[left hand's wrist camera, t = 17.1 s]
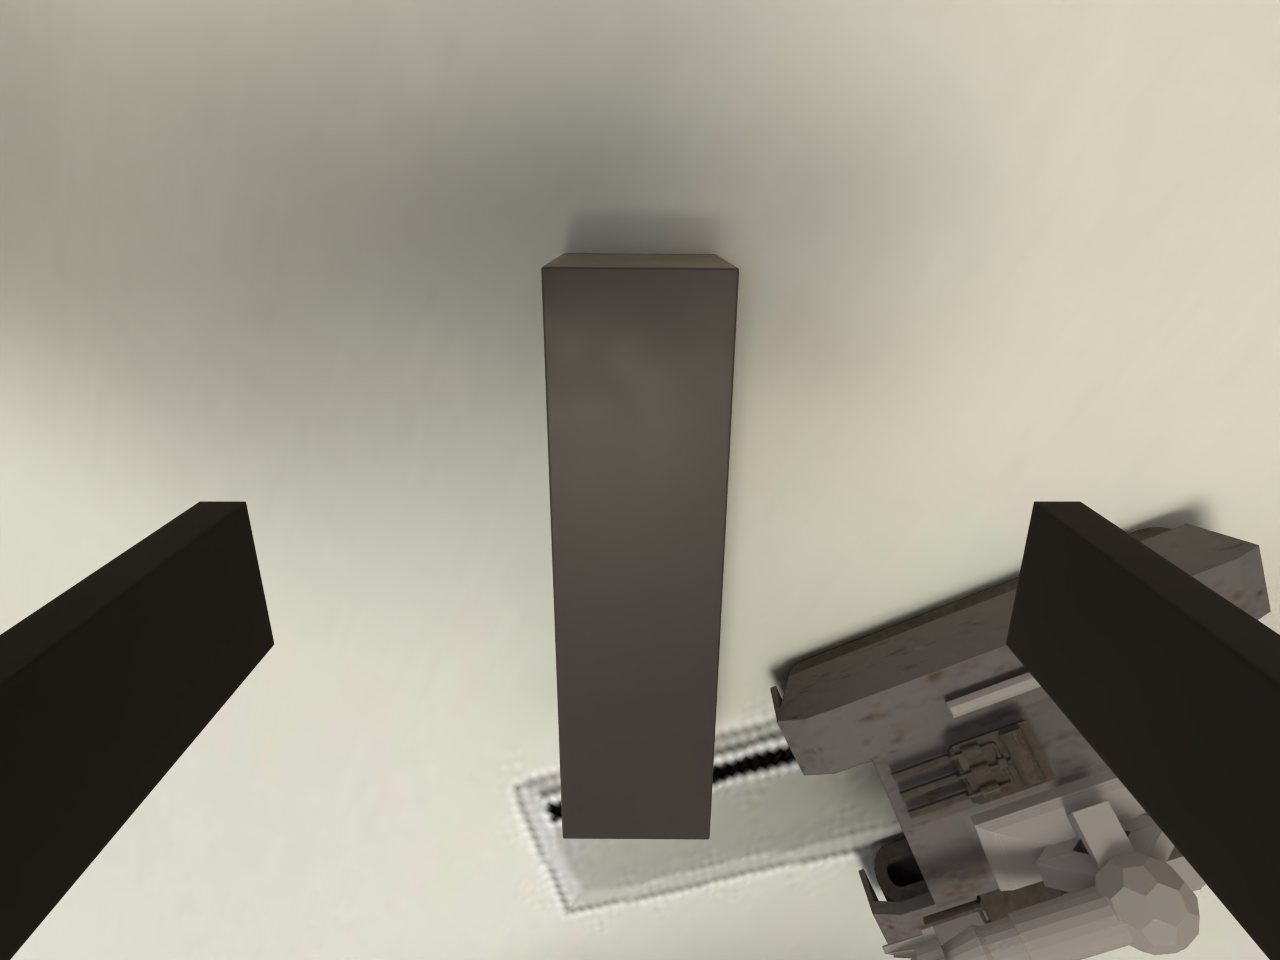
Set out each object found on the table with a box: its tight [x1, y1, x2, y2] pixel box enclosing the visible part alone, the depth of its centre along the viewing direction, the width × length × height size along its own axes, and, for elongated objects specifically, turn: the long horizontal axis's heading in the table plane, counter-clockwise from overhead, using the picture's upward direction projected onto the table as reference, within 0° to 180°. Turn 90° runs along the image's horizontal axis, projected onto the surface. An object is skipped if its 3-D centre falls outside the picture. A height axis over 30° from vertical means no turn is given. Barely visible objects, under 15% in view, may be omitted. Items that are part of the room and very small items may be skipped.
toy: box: [770, 524, 1270, 960], centre depth 39 cm, size 25×20×15 cm
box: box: [541, 253, 739, 839], centre depth 37 cm, size 28×8×9 cm, turn 0°
